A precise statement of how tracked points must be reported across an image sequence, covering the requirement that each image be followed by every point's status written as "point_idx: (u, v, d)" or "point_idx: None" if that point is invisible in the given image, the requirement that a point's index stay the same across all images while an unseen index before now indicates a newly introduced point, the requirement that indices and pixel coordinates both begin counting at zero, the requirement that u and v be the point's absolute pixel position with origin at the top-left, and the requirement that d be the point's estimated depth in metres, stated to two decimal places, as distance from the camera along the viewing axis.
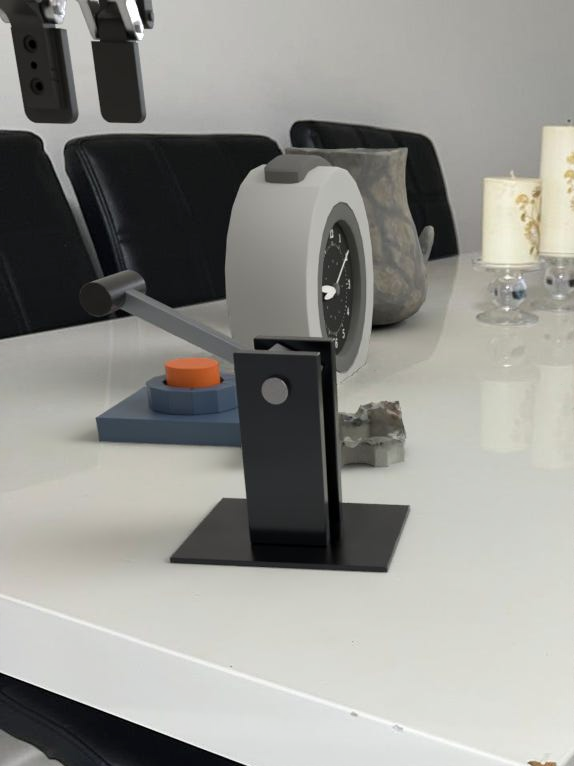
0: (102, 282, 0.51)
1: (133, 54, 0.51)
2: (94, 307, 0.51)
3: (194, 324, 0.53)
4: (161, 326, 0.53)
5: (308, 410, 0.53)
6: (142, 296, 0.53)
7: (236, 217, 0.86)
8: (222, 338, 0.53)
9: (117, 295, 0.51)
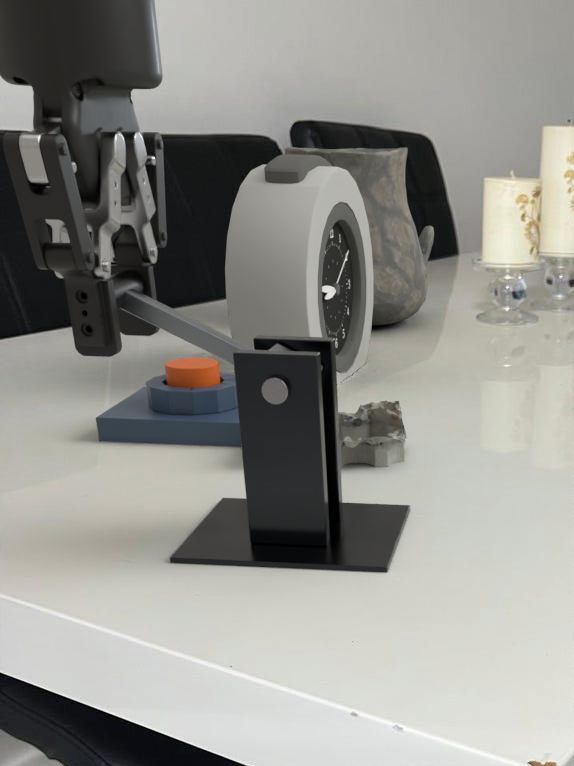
0: None
1: (148, 277, 0.55)
2: None
3: (194, 324, 0.53)
4: (161, 326, 0.53)
5: (308, 410, 0.53)
6: (142, 296, 0.53)
7: (236, 217, 0.86)
8: (222, 339, 0.53)
9: (117, 295, 0.51)
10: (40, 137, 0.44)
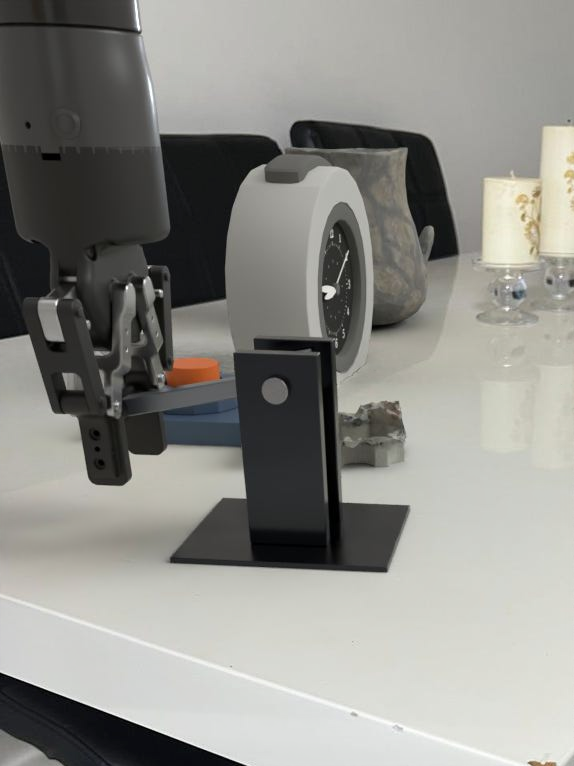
0: None
1: None
2: None
3: (188, 387, 0.55)
4: (165, 407, 0.55)
5: (308, 410, 0.53)
6: (138, 394, 0.55)
7: (236, 217, 0.86)
8: (216, 382, 0.54)
9: None
10: (57, 302, 0.47)
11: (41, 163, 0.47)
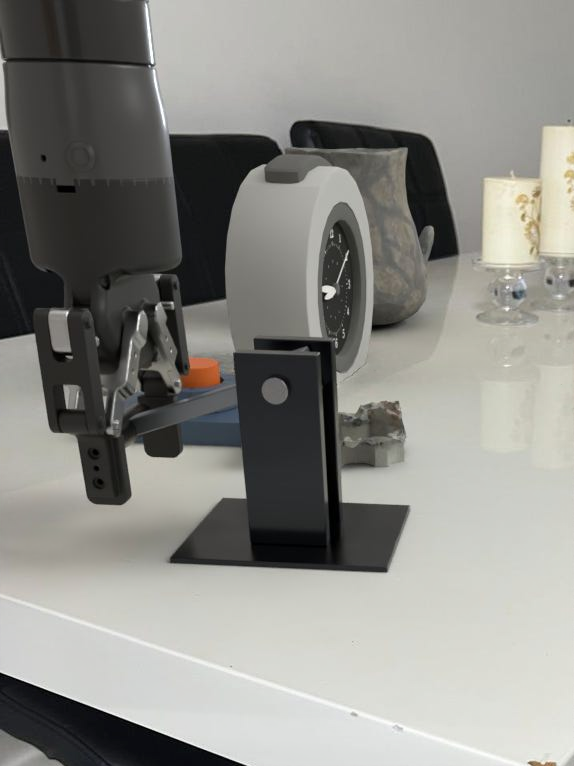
0: None
1: None
2: None
3: (191, 399, 0.55)
4: (172, 422, 0.55)
5: (308, 410, 0.53)
6: (145, 412, 0.56)
7: (236, 217, 0.86)
8: (218, 391, 0.55)
9: (122, 424, 0.55)
10: (68, 311, 0.47)
11: (56, 195, 0.47)
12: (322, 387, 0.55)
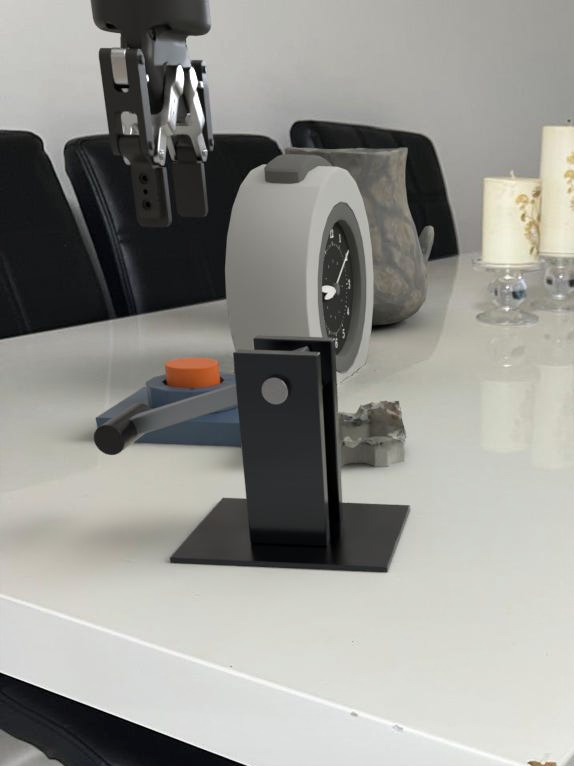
0: (104, 423, 0.54)
1: (200, 171, 0.73)
2: (112, 446, 0.54)
3: (191, 399, 0.55)
4: (172, 422, 0.55)
5: (308, 410, 0.53)
6: (145, 412, 0.56)
7: (236, 217, 0.86)
8: (218, 391, 0.55)
9: (122, 424, 0.55)
10: (126, 49, 0.61)
11: None
12: (322, 387, 0.55)
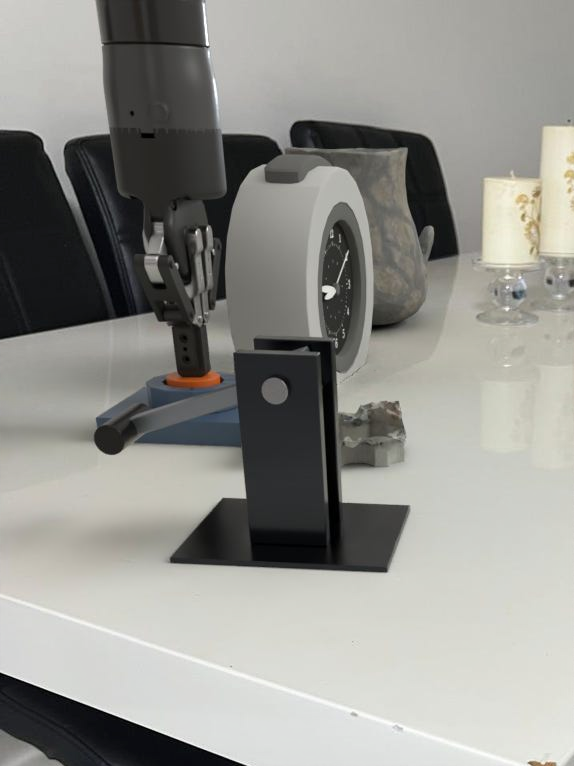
0: (104, 423, 0.54)
1: (203, 333, 0.76)
2: (112, 446, 0.54)
3: (191, 399, 0.55)
4: (172, 422, 0.55)
5: (308, 410, 0.53)
6: (145, 412, 0.56)
7: (236, 217, 0.86)
8: (218, 391, 0.55)
9: (122, 424, 0.55)
10: (157, 261, 0.67)
11: (140, 140, 0.66)
12: (322, 387, 0.55)
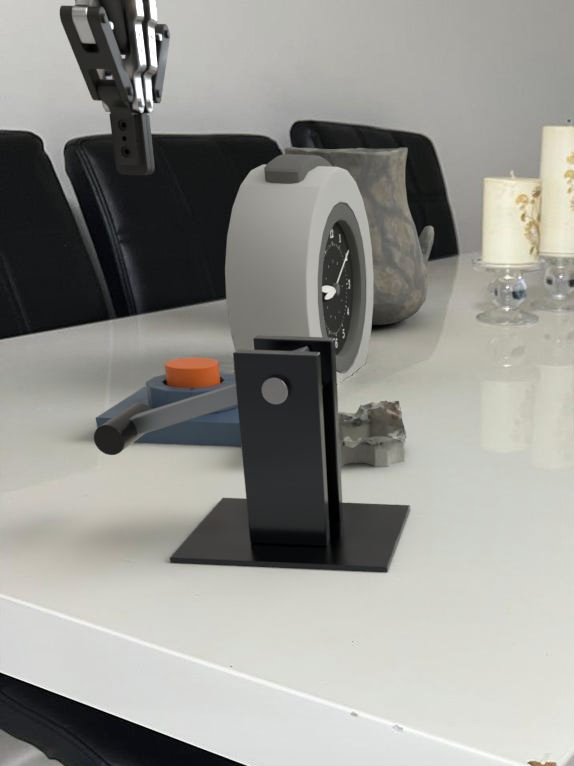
0: (104, 423, 0.54)
1: (145, 124, 0.67)
2: (112, 446, 0.54)
3: (191, 399, 0.55)
4: (172, 422, 0.55)
5: (308, 410, 0.53)
6: (145, 412, 0.56)
7: (236, 217, 0.86)
8: (218, 391, 0.55)
9: (122, 424, 0.55)
10: (86, 12, 0.59)
11: None
12: (322, 387, 0.55)
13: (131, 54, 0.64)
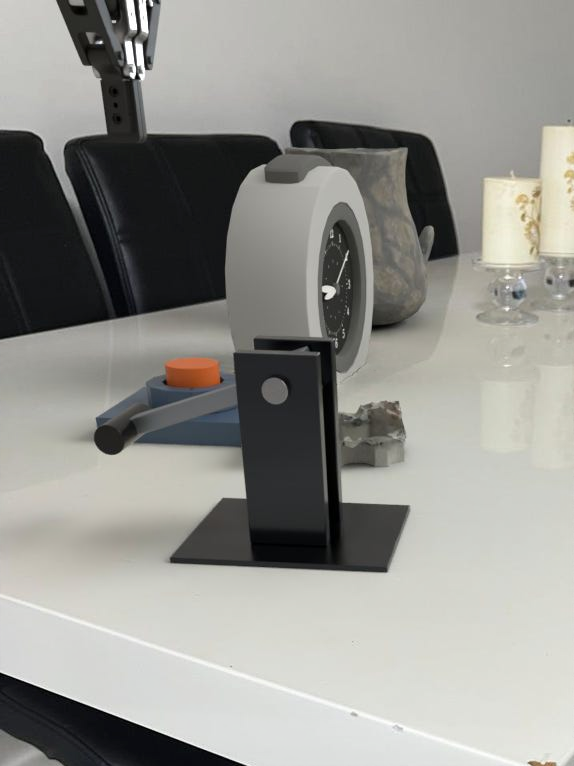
0: (104, 423, 0.54)
1: (137, 90, 0.66)
2: (112, 446, 0.54)
3: (191, 399, 0.55)
4: (172, 422, 0.55)
5: (308, 410, 0.53)
6: (145, 412, 0.56)
7: (236, 217, 0.86)
8: (218, 391, 0.55)
9: (122, 424, 0.55)
10: None
11: None
12: (322, 387, 0.55)
13: (121, 18, 0.63)
